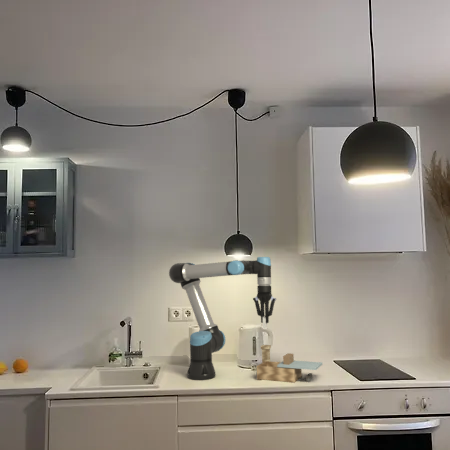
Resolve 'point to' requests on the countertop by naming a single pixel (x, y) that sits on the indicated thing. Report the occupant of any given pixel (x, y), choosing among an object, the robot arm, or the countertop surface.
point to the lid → (298, 363)
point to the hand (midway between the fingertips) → (265, 329)
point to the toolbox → (280, 373)
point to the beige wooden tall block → (265, 352)
